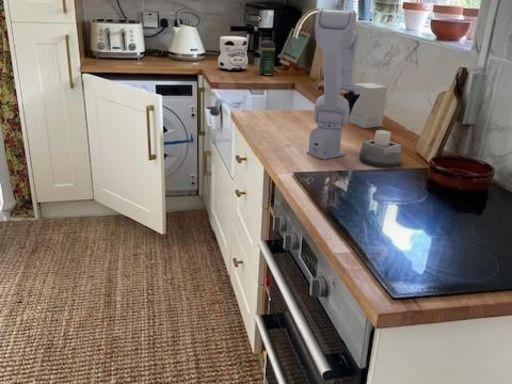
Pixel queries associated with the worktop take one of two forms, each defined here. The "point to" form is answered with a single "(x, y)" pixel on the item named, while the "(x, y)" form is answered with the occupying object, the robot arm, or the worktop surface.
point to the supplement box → (369, 105)
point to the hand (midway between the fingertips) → (338, 112)
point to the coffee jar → (267, 57)
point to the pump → (382, 138)
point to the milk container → (233, 53)
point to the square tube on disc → (380, 154)
